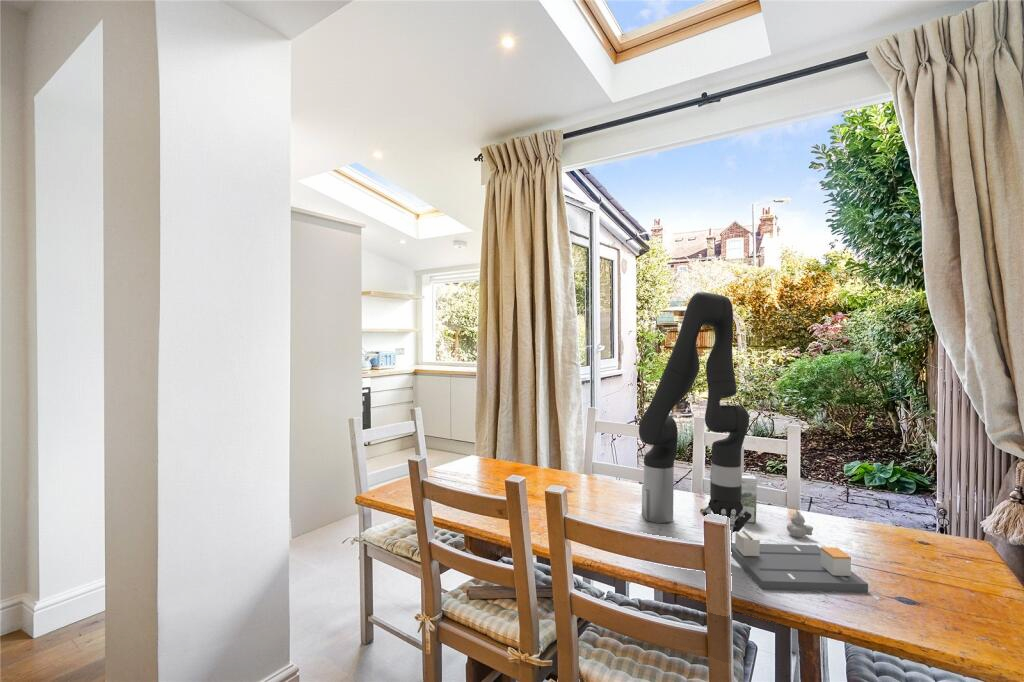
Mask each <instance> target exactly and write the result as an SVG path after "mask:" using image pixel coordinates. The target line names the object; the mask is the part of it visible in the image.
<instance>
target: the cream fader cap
mask: <svg viewBox="0 0 1024 682" xmlns="http://www.w3.org/2000/svg"><path fill="white" fill-rule="evenodd" d="M734 543H735V547H736V548H737V549H738V550H739V551H740V553H741V554H742V555H743V556H759V549H760V544H761V542H760V539H759V537H757V536H756V535H755V534H754V533H753V532H752V531H745V530H741V531H739V532H735V541H734Z"/></svg>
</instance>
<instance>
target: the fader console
mask: <svg viewBox="0 0 1024 682" xmlns="http://www.w3.org/2000/svg"><path fill="white" fill-rule="evenodd" d="M731 552H732V555H731V556H732V558H733V559H734V560H735V561H736V562H737V564H739V566H740V567H741V568H742V569H743V570H744V571H745V572H746V574H747V575H748V576H749V577H750V578H751V579H752V580H753V581H754V583H755V584H756V585H757V586H758V587H759V588H760V589H761V590H766V591H767V590H769V591H798V592H800V591H803V592H805V591H807V592H832V591H836V592H835V593H838V592H840V593H841V592H842V593H867V592H868V593H869V583H868V582H866V581H865V580H864V579H862V578H861V577H860V576H858V574H855V572H853V571H852V570H851V576H833V575H832V574H831V573H830V572H828V571H827V570H826V569H825V568H823V567H822V566H821V547H820V546H818V545H817V544H785V543H784V544H783V543H781V544H780V543H760V549H759V556H743V555H742V554H741V553H740V551H739V550H738V549H737V548H736V547H735V542H732V544H731Z"/></svg>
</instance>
